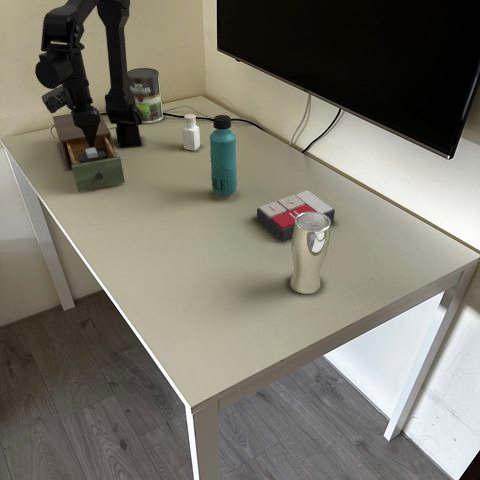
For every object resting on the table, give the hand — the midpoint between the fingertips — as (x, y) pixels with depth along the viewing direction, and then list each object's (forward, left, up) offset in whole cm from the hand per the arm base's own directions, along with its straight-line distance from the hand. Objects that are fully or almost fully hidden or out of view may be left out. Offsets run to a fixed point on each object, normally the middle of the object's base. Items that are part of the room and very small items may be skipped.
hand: (88, 139), depth 123 cm
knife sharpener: (0, 0, -8) cm, 8 cm away
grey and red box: (-46, +35, -10) cm, 59 cm away
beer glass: (-41, +58, -10) cm, 71 cm away
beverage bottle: (-32, +19, -10) cm, 39 cm away
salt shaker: (-28, -11, -10) cm, 32 cm away
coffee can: (-17, -38, -10) cm, 43 cm away
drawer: (0, +1, -9) cm, 9 cm away
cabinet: (+3, -15, -10) cm, 19 cm away
